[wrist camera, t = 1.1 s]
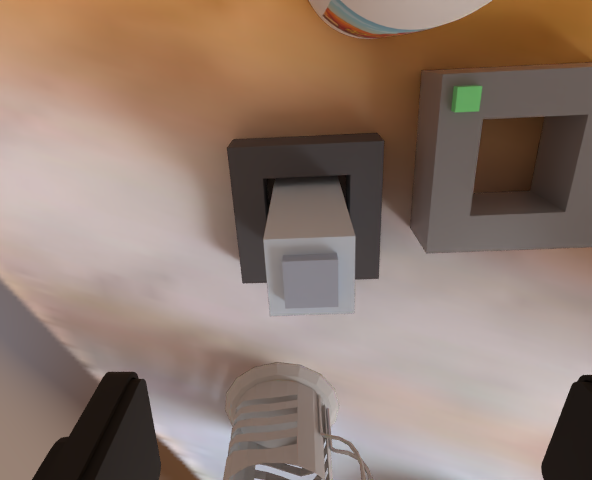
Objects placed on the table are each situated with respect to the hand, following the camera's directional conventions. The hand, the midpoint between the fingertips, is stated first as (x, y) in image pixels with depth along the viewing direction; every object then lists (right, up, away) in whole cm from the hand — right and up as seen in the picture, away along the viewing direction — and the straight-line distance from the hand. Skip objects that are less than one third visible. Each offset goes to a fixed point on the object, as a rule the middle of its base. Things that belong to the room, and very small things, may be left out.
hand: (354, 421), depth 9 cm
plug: (-1, +6, +19) cm, 20 cm away
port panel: (+11, +10, +17) cm, 23 cm away
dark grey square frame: (-1, +6, +19) cm, 20 cm away
